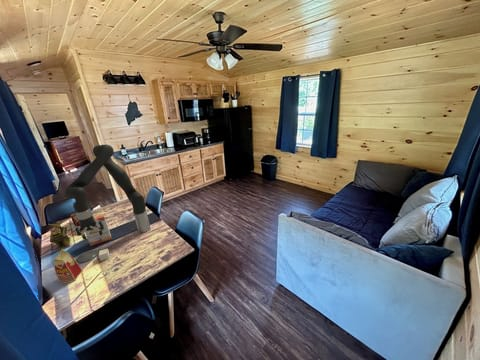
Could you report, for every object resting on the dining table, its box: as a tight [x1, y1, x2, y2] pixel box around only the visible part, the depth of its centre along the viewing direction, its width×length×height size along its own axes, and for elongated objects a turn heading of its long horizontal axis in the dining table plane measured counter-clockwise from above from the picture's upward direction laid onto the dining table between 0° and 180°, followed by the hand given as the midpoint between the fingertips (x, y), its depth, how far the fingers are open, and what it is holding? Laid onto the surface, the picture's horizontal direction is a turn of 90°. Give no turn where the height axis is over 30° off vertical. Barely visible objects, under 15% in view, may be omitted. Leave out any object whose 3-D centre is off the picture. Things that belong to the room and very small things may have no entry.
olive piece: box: [47, 221, 71, 251], centre depth 150 cm, size 20×10×20 cm, turn 37°
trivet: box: [76, 249, 99, 264], centre depth 141 cm, size 12×12×1 cm
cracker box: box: [84, 213, 112, 247], centre depth 153 cm, size 14×6×21 cm, turn 125°
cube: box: [98, 248, 111, 262], centre depth 139 cm, size 5×5×5 cm
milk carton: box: [52, 248, 84, 284], centre depth 121 cm, size 9×9×20 cm
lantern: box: [70, 213, 83, 232], centre depth 177 cm, size 10×9×30 cm
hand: (93, 237), depth 133 cm, fingers open, 8 cm apart
